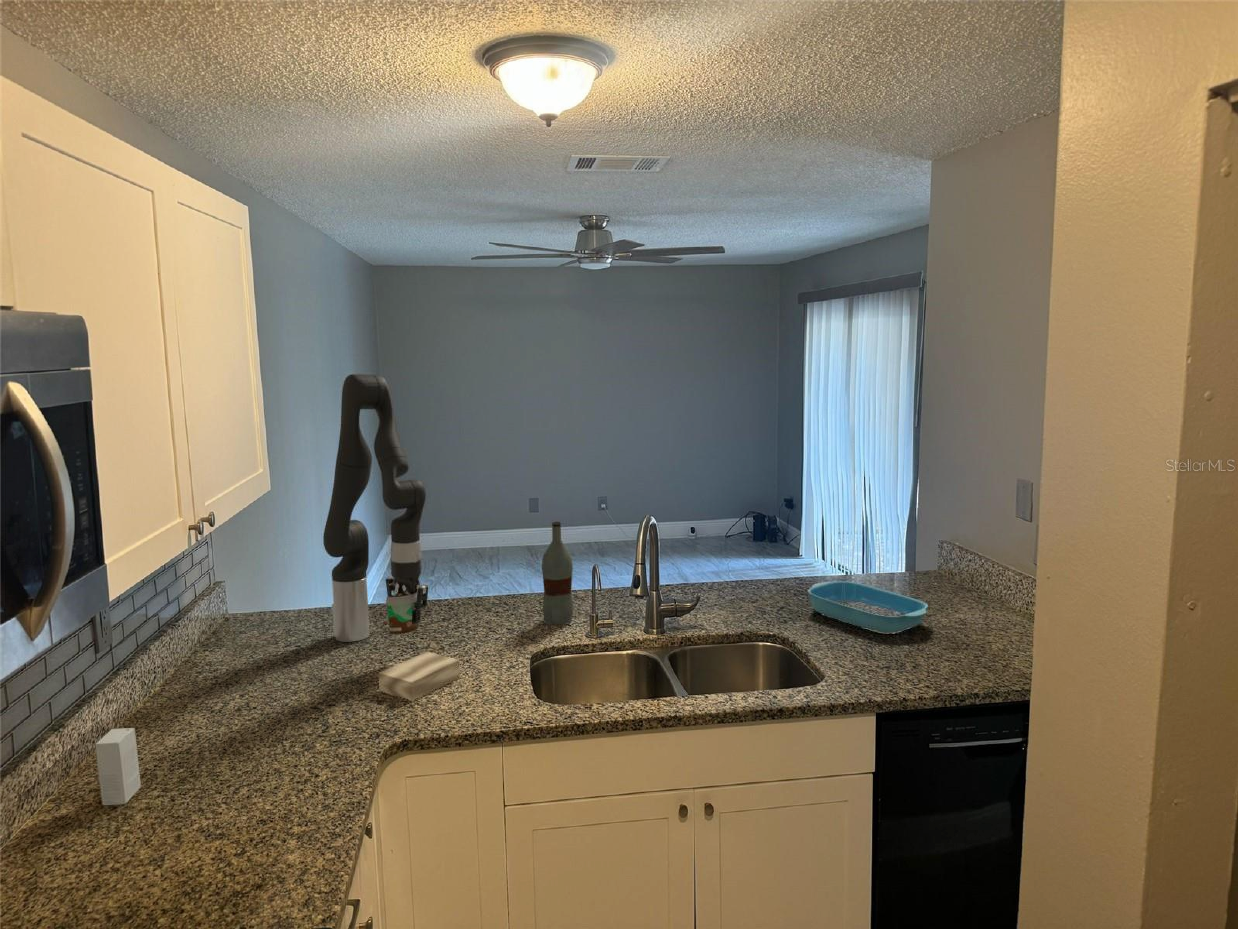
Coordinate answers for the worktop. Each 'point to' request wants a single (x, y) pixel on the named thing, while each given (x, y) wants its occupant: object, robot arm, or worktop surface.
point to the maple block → (419, 675)
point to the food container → (401, 613)
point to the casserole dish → (845, 591)
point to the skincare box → (118, 766)
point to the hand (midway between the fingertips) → (407, 620)
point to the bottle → (557, 580)
